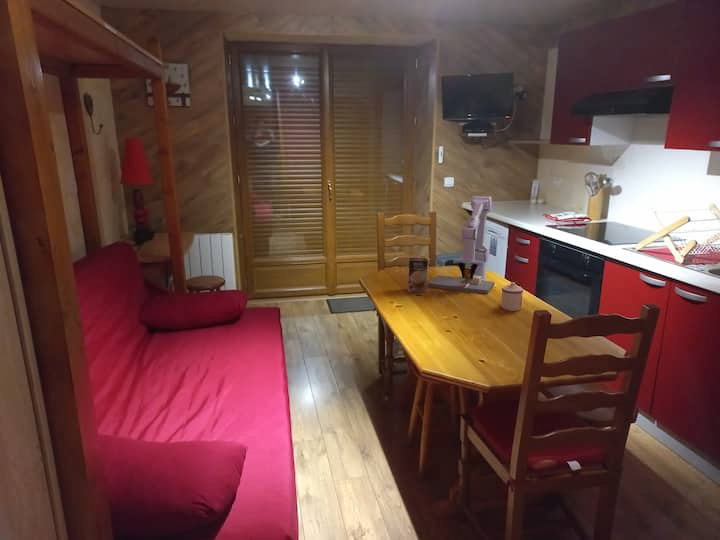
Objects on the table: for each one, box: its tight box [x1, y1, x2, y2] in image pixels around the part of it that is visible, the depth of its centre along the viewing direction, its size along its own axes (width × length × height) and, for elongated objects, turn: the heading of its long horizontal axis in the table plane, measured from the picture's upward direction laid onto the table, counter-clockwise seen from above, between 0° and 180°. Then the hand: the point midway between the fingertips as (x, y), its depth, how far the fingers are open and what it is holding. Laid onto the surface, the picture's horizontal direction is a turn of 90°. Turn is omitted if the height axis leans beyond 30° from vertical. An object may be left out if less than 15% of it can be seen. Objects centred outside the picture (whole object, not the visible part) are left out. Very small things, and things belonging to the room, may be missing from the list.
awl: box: [464, 266, 471, 283], centre depth 244 cm, size 4×4×7 cm
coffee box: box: [407, 257, 429, 293], centre depth 243 cm, size 9×6×16 cm
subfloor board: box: [427, 274, 495, 295], centre depth 251 cm, size 16×30×2 cm, turn 64°
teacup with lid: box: [500, 281, 524, 312], centre depth 218 cm, size 12×9×12 cm
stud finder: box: [463, 275, 482, 284], centre depth 250 cm, size 5×8×3 cm, turn 63°
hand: (467, 278), depth 244 cm, fingers closed on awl, 4 cm apart
